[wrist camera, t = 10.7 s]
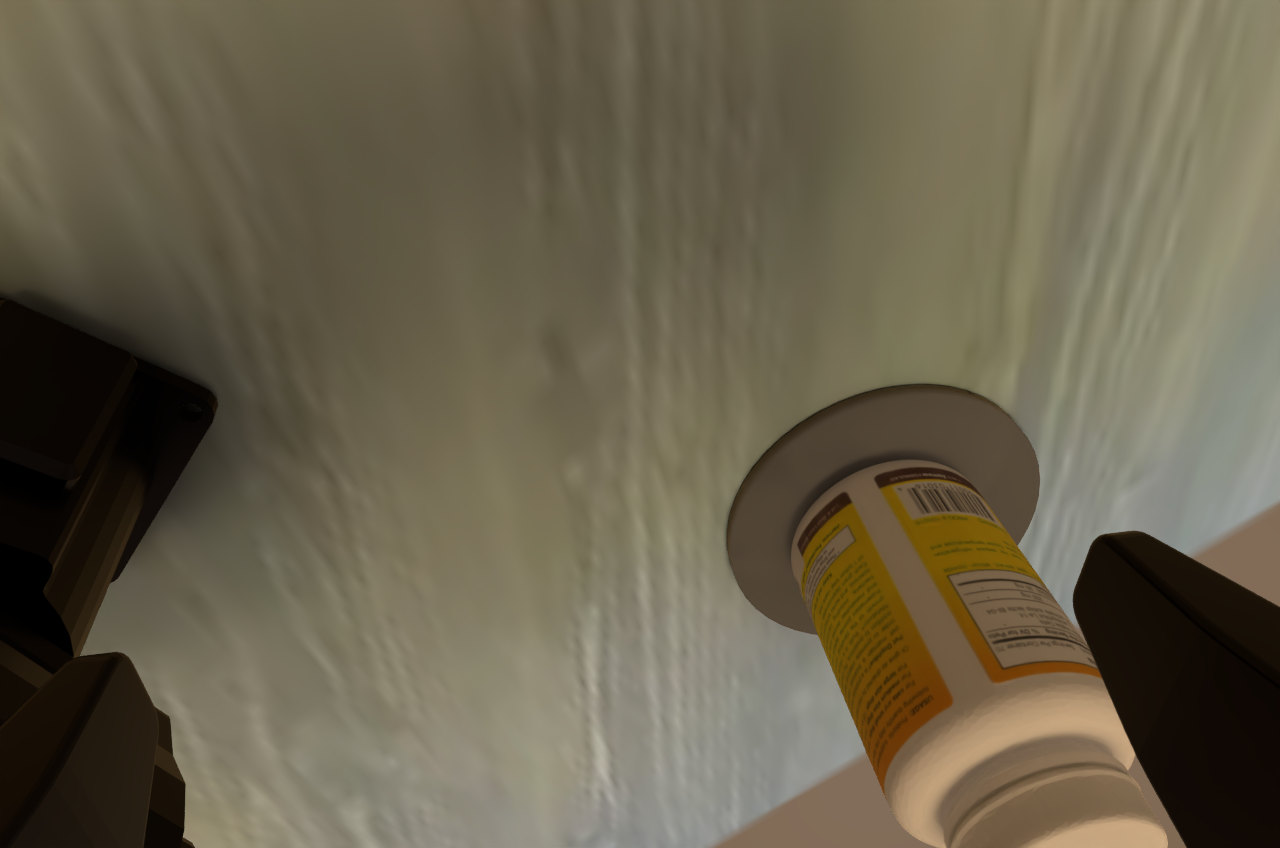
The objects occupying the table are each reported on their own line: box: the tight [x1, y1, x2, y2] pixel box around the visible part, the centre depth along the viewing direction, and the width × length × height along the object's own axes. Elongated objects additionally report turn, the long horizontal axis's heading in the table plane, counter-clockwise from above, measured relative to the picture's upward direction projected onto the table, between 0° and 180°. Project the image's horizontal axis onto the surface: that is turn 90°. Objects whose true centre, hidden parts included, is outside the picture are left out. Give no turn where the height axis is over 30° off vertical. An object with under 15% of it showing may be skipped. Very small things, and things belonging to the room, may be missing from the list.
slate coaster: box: [727, 384, 1040, 635], centre depth 27 cm, size 9×9×1 cm
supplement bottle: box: [791, 460, 1168, 848], centre depth 22 cm, size 6×6×10 cm
